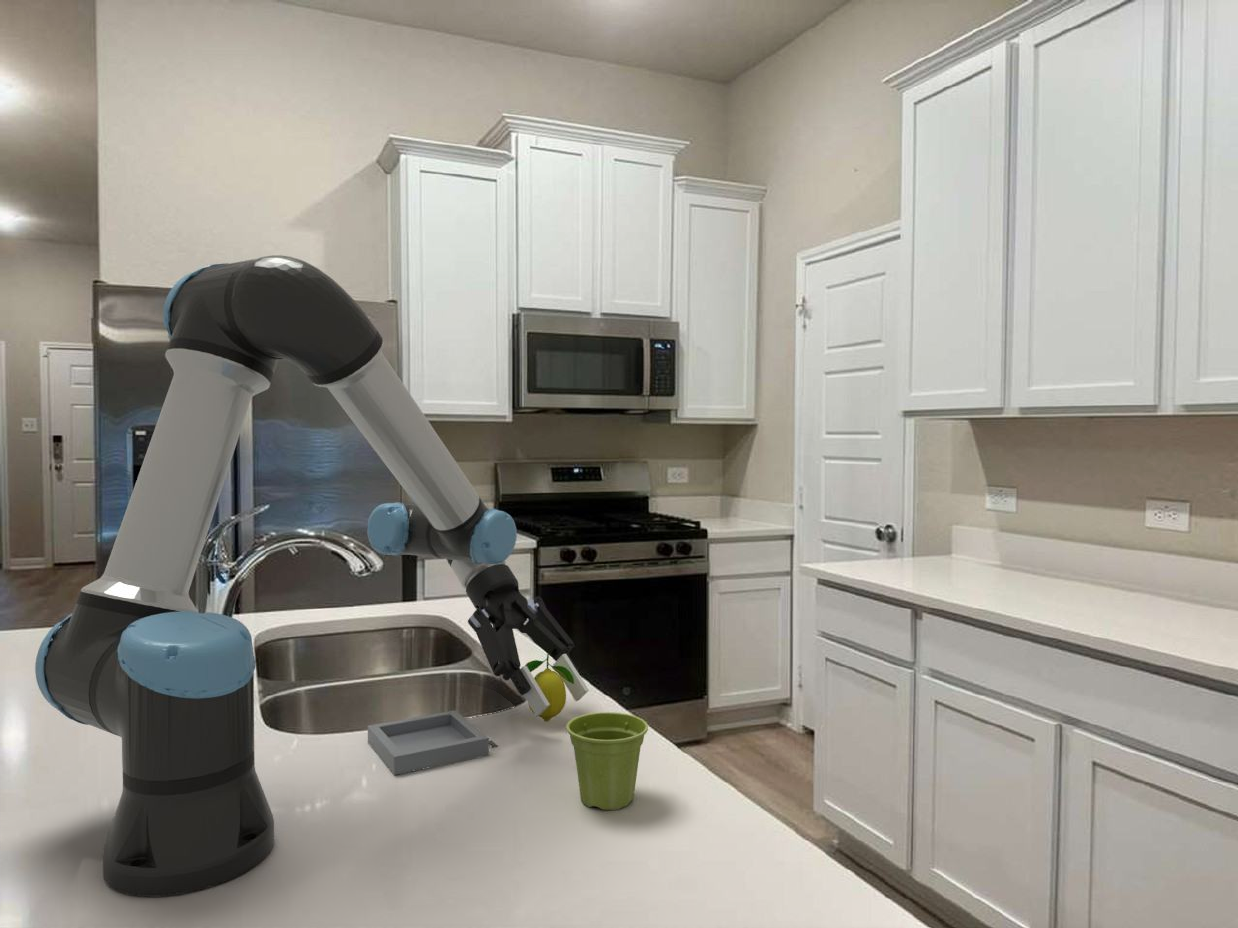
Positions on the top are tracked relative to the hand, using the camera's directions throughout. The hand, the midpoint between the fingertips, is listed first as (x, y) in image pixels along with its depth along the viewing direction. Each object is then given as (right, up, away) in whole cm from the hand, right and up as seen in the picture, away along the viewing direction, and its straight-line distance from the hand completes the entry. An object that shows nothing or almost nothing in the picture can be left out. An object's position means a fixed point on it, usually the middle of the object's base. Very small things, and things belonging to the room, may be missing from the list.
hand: (563, 702), depth 119 cm
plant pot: (+7, -5, -23) cm, 24 cm away
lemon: (-3, -4, +2) cm, 5 cm away
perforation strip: (-11, -4, -3) cm, 12 cm away
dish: (-18, -4, -8) cm, 20 cm away
